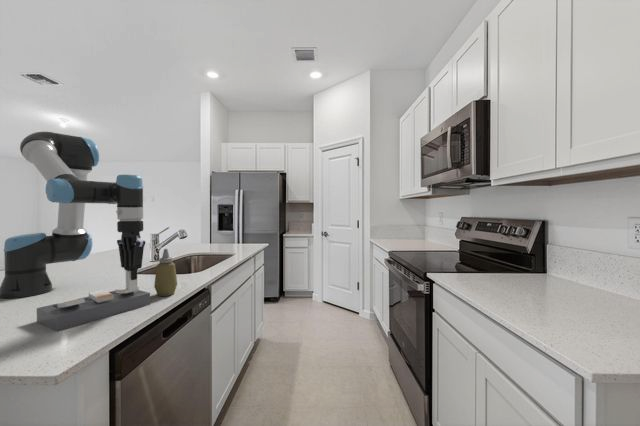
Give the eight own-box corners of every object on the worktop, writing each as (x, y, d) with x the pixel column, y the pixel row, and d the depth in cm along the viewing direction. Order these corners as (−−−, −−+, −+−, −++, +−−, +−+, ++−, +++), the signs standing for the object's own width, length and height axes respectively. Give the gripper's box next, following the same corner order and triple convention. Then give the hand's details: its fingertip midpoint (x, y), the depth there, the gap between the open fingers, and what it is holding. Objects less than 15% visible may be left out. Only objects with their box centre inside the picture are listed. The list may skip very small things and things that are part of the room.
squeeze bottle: (167, 298, 111) (167, 250, 111) (149, 296, 113) (149, 250, 112) (181, 292, 119) (181, 247, 119) (164, 290, 121) (164, 247, 120)
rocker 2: (115, 293, 102) (115, 289, 102) (129, 289, 105) (128, 286, 106) (125, 293, 99) (125, 289, 99) (138, 290, 103) (138, 286, 103)
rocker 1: (57, 307, 88) (57, 303, 88) (75, 303, 91) (75, 299, 92) (66, 306, 85) (66, 302, 85) (84, 302, 89) (84, 298, 89)
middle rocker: (88, 296, 95) (88, 292, 94) (103, 292, 99) (104, 289, 98) (97, 302, 92) (98, 299, 92) (113, 299, 96) (113, 295, 96)
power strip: (28, 317, 91) (27, 302, 91) (118, 295, 114) (118, 283, 114) (57, 331, 81) (57, 314, 81) (150, 304, 104) (150, 291, 104)
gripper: (107, 220, 101) (109, 289, 101) (130, 220, 94) (131, 294, 94) (130, 219, 107) (131, 284, 107) (153, 220, 101) (154, 288, 101)
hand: (131, 288), depth 101 cm, fingers closed
